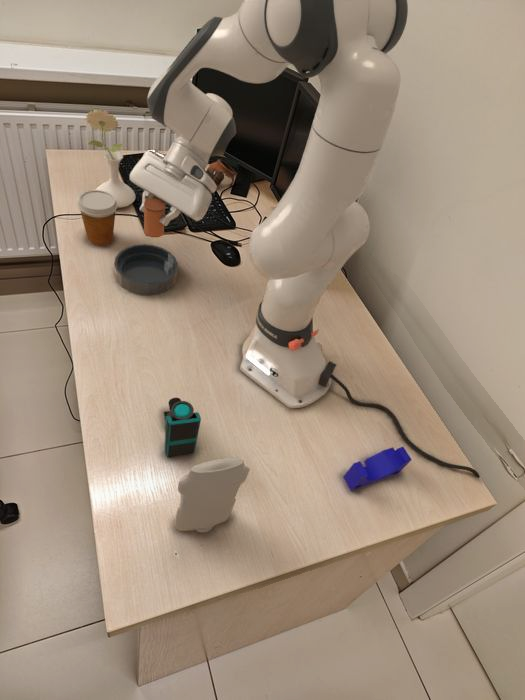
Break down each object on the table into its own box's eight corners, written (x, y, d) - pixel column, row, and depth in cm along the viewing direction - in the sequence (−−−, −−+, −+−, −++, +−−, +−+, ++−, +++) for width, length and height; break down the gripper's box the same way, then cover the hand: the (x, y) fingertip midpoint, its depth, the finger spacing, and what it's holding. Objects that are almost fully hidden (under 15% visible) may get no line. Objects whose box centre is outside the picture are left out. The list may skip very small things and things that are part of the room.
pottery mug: (202, 174, 155) (216, 153, 152) (224, 191, 159) (239, 172, 155) (199, 183, 145) (214, 162, 142) (223, 202, 149) (239, 181, 145)
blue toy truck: (387, 454, 97) (399, 440, 93) (398, 473, 95) (411, 459, 90) (339, 470, 92) (349, 456, 88) (350, 490, 90) (361, 477, 86)
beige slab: (174, 539, 78) (183, 484, 61) (170, 515, 80) (177, 456, 64) (234, 525, 81) (258, 469, 65) (229, 503, 84) (250, 444, 67)
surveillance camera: (191, 374, 85) (201, 420, 80) (186, 409, 94) (195, 453, 89) (160, 377, 84) (169, 425, 78) (158, 413, 93) (166, 458, 87)
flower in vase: (141, 196, 139) (142, 112, 121) (125, 216, 132) (123, 128, 113) (100, 183, 139) (94, 97, 121) (82, 202, 132) (72, 112, 113)
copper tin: (168, 234, 110) (169, 207, 105) (150, 240, 108) (151, 212, 102) (157, 223, 112) (158, 196, 107) (139, 228, 110) (139, 201, 104)
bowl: (188, 284, 119) (189, 272, 116) (135, 304, 110) (135, 292, 107) (156, 250, 125) (156, 238, 122) (103, 267, 116) (102, 254, 114)
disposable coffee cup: (114, 253, 121) (112, 213, 112) (76, 246, 119) (71, 206, 110) (122, 232, 127) (121, 193, 118) (86, 225, 126) (82, 185, 117)
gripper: (142, 139, 105) (112, 192, 106) (213, 179, 100) (180, 234, 101) (155, 152, 111) (126, 202, 112) (222, 190, 106) (191, 242, 107)
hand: (152, 218), depth 106 cm, fingers closed on copper tin, 4 cm apart
